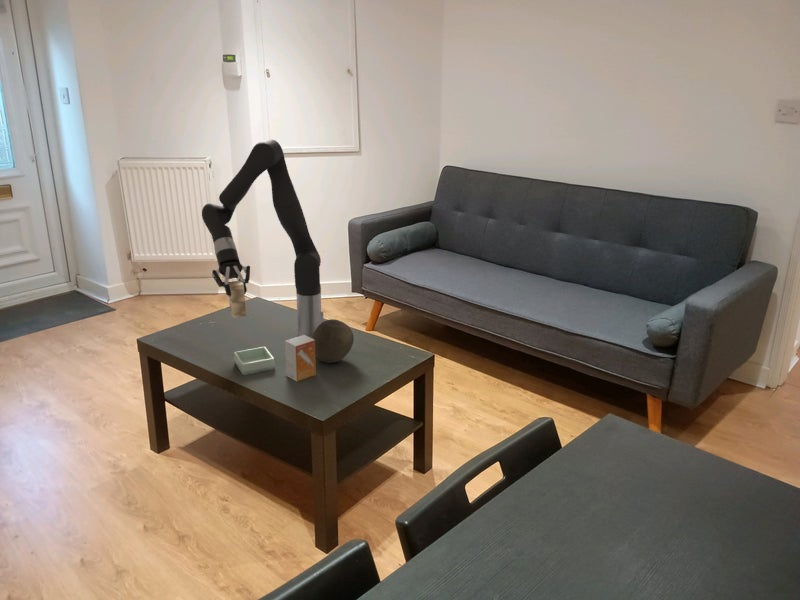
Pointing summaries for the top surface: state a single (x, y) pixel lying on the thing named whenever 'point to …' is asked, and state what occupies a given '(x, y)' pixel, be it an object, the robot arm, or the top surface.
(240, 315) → the birch block
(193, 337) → the top surface
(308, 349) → the small box
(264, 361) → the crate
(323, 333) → the brown leather ball
